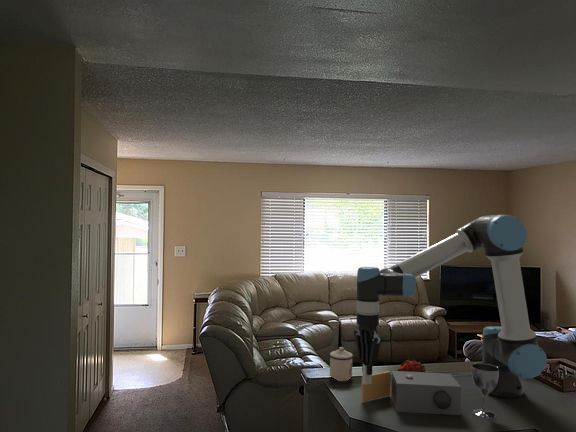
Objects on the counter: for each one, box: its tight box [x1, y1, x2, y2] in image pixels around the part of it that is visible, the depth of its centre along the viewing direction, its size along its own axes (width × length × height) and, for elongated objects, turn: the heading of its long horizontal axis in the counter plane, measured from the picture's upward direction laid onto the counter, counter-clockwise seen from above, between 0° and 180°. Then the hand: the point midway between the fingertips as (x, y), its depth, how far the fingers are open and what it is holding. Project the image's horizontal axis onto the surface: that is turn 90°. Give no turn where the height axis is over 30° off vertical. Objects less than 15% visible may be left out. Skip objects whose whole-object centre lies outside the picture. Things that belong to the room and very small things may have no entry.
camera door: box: [360, 370, 391, 402], centre depth 150 cm, size 12×1×8 cm, turn 119°
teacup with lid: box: [329, 346, 354, 382], centre depth 171 cm, size 12×9×12 cm
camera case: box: [390, 370, 462, 416], centre depth 144 cm, size 20×14×10 cm
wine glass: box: [471, 362, 499, 420], centre depth 140 cm, size 8×8×15 cm
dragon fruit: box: [396, 359, 427, 373], centre depth 168 cm, size 8×8×12 cm
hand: (367, 383), depth 146 cm, fingers closed
